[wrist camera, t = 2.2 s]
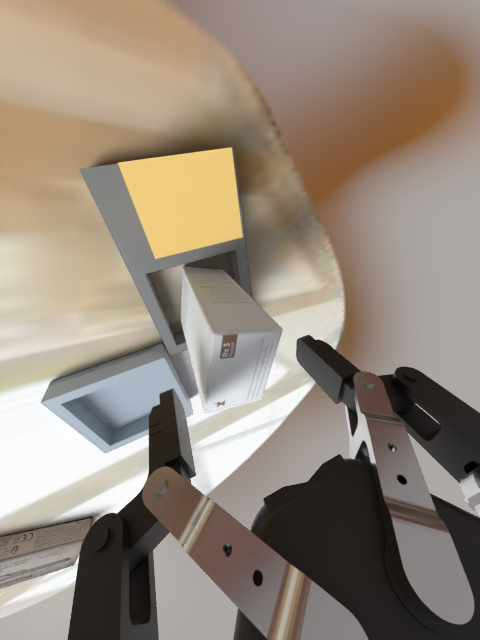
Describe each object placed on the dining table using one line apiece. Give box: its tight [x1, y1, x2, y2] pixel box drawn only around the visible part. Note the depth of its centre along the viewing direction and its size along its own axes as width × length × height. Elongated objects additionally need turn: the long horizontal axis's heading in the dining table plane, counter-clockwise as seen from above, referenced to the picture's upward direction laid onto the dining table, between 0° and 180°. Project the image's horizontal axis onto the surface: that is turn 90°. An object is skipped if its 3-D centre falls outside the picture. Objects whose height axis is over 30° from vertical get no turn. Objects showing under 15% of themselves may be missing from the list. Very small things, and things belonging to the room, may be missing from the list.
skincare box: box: [181, 267, 282, 414], centre depth 16 cm, size 6×4×12 cm
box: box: [0, 517, 93, 589], centre depth 31 cm, size 11×17×3 cm, turn 57°
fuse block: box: [79, 147, 252, 356], centre depth 16 cm, size 16×10×8 cm, turn 8°
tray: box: [41, 343, 193, 453], centre depth 23 cm, size 11×11×2 cm
